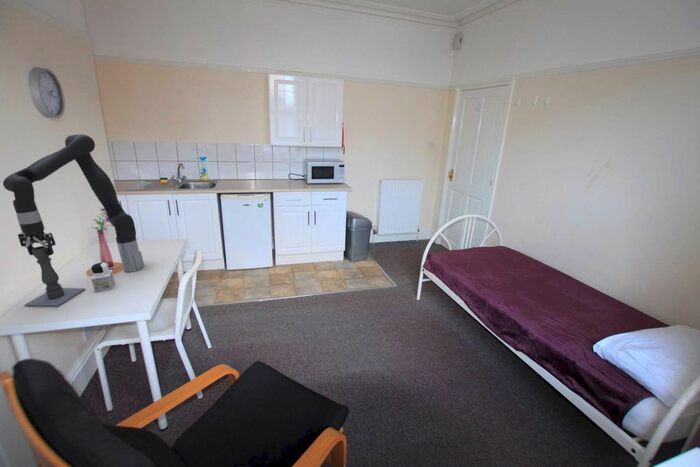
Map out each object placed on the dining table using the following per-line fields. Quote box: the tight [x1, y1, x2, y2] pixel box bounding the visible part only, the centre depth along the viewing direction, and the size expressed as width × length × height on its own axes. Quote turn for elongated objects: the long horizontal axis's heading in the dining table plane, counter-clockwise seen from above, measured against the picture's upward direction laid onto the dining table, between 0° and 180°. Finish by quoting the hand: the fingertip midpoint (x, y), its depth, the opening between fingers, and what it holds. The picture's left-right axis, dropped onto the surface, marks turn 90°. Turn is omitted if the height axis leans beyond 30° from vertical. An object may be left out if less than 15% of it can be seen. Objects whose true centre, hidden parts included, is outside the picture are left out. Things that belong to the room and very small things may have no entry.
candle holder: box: [32, 245, 64, 299], centre depth 156 cm, size 6×6×25 cm
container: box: [90, 262, 116, 293], centre depth 168 cm, size 8×8×13 cm
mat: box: [23, 287, 86, 308], centre depth 160 cm, size 16×16×1 cm
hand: (41, 254), depth 153 cm, fingers open, 8 cm apart
